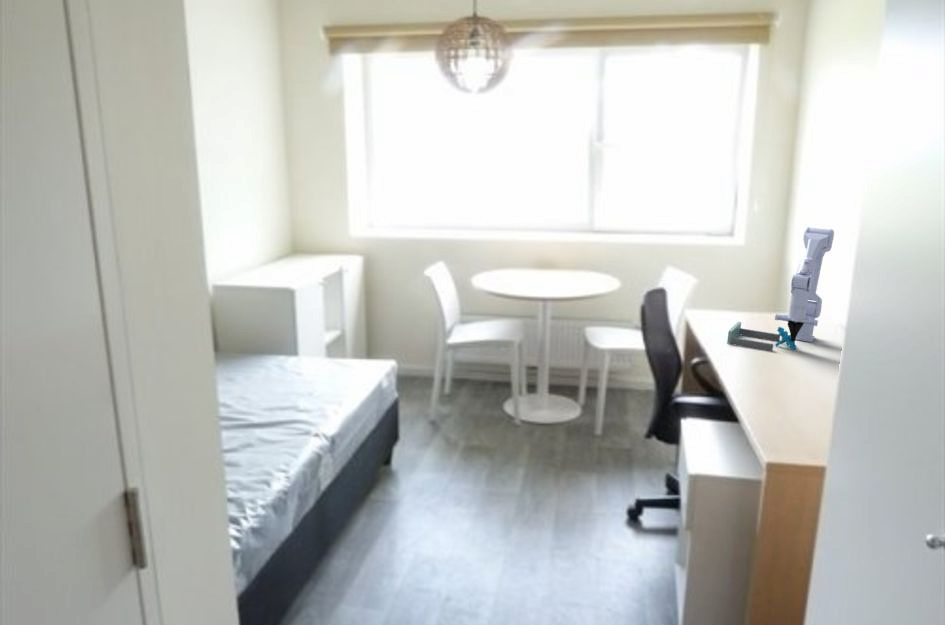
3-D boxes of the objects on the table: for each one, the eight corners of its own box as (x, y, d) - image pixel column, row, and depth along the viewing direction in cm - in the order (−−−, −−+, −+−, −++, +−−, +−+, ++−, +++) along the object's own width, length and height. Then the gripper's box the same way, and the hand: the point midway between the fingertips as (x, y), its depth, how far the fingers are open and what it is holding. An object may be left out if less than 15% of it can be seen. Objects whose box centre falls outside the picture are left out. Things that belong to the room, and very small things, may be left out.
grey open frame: (736, 333, 281) (738, 321, 280) (779, 340, 273) (781, 328, 272) (727, 343, 267) (728, 330, 266) (771, 351, 259) (773, 338, 258)
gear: (793, 348, 257) (777, 326, 260) (779, 357, 260) (764, 334, 263) (801, 346, 265) (785, 325, 269) (788, 354, 269) (772, 333, 272)
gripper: (775, 305, 259) (770, 340, 263) (818, 311, 252) (812, 346, 255) (778, 301, 265) (773, 336, 269) (820, 307, 258) (814, 342, 261)
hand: (793, 341), depth 262 cm, fingers closed
